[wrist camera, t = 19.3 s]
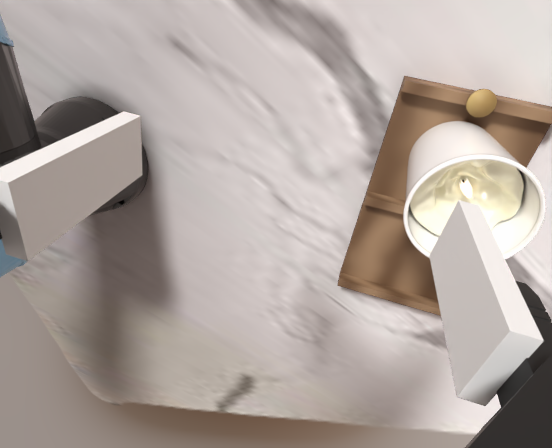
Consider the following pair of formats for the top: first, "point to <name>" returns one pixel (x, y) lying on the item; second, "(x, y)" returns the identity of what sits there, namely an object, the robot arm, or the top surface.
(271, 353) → the top surface
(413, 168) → the candle holder
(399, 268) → the brown wooden flat tray
